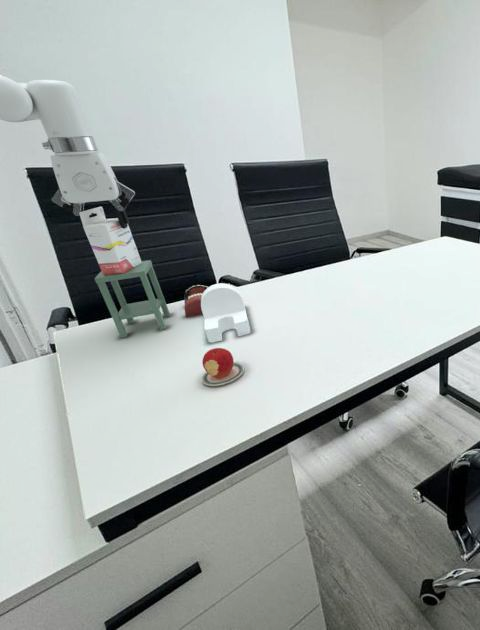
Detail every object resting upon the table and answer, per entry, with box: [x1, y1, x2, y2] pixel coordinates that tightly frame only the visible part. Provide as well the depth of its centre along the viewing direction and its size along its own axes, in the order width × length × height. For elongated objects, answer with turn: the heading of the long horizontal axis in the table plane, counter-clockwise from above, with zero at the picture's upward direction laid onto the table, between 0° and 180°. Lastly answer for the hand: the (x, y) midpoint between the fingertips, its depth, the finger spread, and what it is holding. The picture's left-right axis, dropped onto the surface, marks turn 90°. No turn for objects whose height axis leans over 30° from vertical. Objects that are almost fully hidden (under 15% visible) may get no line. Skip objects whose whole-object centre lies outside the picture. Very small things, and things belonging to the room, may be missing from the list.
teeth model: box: [183, 284, 209, 318], centre depth 110 cm, size 8×6×12 cm
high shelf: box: [94, 259, 171, 339], centre depth 99 cm, size 10×10×16 cm
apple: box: [201, 347, 245, 387], centre depth 78 cm, size 8×8×6 cm
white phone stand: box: [201, 282, 252, 344], centre depth 99 cm, size 10×18×11 cm, turn 27°
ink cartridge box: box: [79, 206, 142, 275], centre depth 92 cm, size 9×5×15 cm, turn 6°
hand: (107, 228), depth 91 cm, fingers closed on ink cartridge box, 6 cm apart
